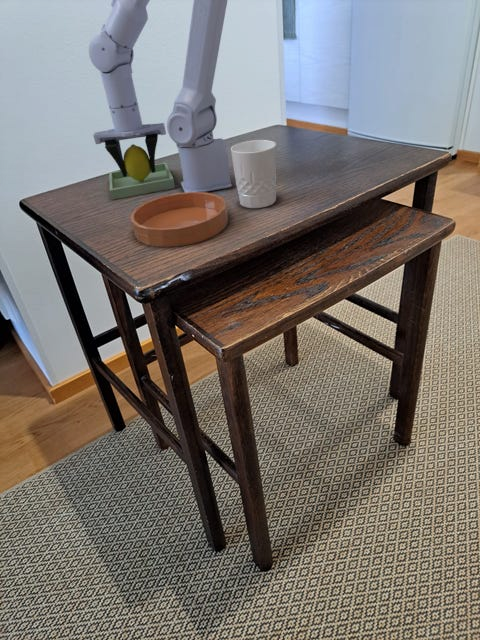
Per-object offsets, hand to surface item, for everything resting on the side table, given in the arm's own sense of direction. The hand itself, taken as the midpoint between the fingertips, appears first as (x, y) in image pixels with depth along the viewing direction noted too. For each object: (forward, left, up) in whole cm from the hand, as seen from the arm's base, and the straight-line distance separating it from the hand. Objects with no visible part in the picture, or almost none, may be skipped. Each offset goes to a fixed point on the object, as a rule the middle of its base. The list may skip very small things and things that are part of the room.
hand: (139, 173), depth 97 cm
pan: (-5, +27, -2) cm, 28 cm away
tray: (0, 0, -2) cm, 2 cm away
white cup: (-20, +23, -3) cm, 31 cm away
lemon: (0, 0, -2) cm, 2 cm away
